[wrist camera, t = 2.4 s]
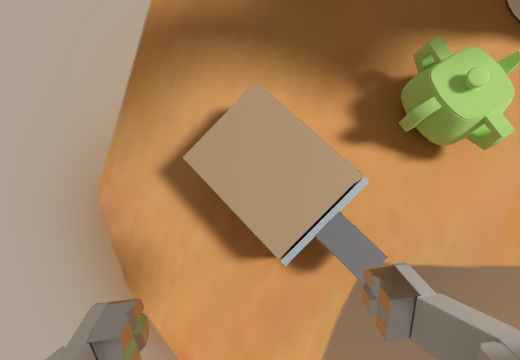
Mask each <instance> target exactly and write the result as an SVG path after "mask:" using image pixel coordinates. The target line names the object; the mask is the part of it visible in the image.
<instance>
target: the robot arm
mask: <svg viewBox="0 0 520 360" xmlns="http://www.w3.org/2000/svg"><path fill="white" fill-rule="evenodd" d="M507 1H508V4H509V7H510V9H511V10H512V12H513V13H514V15H515V16H516V17H517V18H518V19H519V20H520V0H507ZM363 278H364V280H365V281H366V283H365V284H364V286H363V287H362V295H363V301H364V304H365V306H366V309H367V310H368V312H369V314H371V315H372V316H374V317H375V318H376V326H377V328H378V329H379V331H380V333H381V335H382V336H383V338H384V340H385V341H394V340H403V339H410V340H411V341H412V342H414V343H415V344H416V345H418V346H419V347H420V348H421V349H423V350H424V351H425V352H427V353H428V354H429V355H431V356H432V357H433V358H435V359H436V360H520V330H518V329H516V328H514V327H511V326H509V325H507V324H505V323H503V322H501V321H498V320H496V319H494V318H492V317H490V316H488V315H486V314H484V313H481V312H479V311H477V310H475V309H472V308H471V307H469V306H466V305H464V304H462V303H460V302H458V301H455V300H453V299H451V298H449V297H447V296H445V295H443V294H436V293H435V292H434V291H433V290H432V289H431V288H430V287H429V286H428V285H427V284H426V283H425V281H424V280H423V279H422V278H421V277H420V276H419V275H418V274H417V273H416V272H415V271H414V270H413V269H412V268H411V267H410V266H409V265H408V264H407V263H405V262H404V263H398V264H391V265H386V266H379V267H372V268H365V269H364V272H363ZM143 308H144V306H143V303H142V300H141V299H132V300H122V301H113V302H107V303H99V304H95V305H94V306H92V307H91V309H90V310H89V312H88V313H87V315H86V316H85V318H84V320H83V321H82V323H81V324H80V326H79V327H78V329H77V331H76V332H75V334H74V335H73V337H72V339H71V340H70V342H69V343H68V345H67V346H65V347H61V348H60V349H59V350H57V351H56V352H55V353H53V354H52V355H51V356H49V358H47V359H46V360H141V356H140V353H139V352H140V351H141V350H142V349H143V348H144V347H145V346H146V343H147V340H148V336H149V321H148V318H147V316H146V315H144V314H143V313H142V311H143Z"/></svg>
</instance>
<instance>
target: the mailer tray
mask: <svg viewBox="0 0 520 360" xmlns="http://www.w3.org/2000/svg"><path fill="white" fill-rule="evenodd" d="M369 182H370V181H369V180H368V179H367V178H366V177H363V178H362V179H361V180H359V181H358V182H356V183H354V184H353V185H352V186H351V187H350V188H349V189H348V190H347V191H346V192H345V193H344V194H343V195H342V196H341V197H340V198H339V199H338V200H337V201H336V202H335V203H334V204H333V205H332V206H331V207H330V208H329V209H328V210H327V211H326V212H325V213H324V214H323V215H322V216H321V217H320V218H319V219H318V220H317V221H316V222H315V223H314V224H313V225H312V226H311V227H310V228H309V229H308V230H307V231H306V232H305V233H304V234H303V235H302V236H301V237H300V238H299V239H298V240H297V241H296V242H295V243H294V244H293V245H292V246H291V247H290V248H289V249H288V250H287V251H286V254H285V255H284V257H283V258H282V260H281V263H282V264H283V265H284V266H286V265H287V264H288V263H289V262H290V261H291V260H292V259H293V258H294V257H295V256H296V255H297V254H298V253H299V252H300V251H301V250H302V249H303V248H304V247H305V246H306V245H307V244H308V243H309V242H310V241H311V240H312V239H313V238H314V237H315V236H316V237H317V238H318V239H319V240H320V241H321V242H322V243H323V244H324V245H325V246H326V247H327V248H328V249H329V250H330V251H331V252H332V253H333V254H334V255H335V256H336V257H337V258H338V259H339V260H340V261H341V262H342V263H343V264H344V265H345V266H346V267H347V268H348V269H349V270H350V271H351V272H352V273H353V274H354V275H355V276H356V277H357V278H358V279H359V280H360V281H361V282H363V281H364V278H363V272H364V269H365V268H372V267H378V266H379V265H380V264H381V263H382V262H383V261H384V260H385V259H386V258H387V256H386V255H385V254H384V253H383V252H382V251H381V250H380V249H379V248H378V247H377V246H375V245H374V244H373V243H372V242H371V241H370V240H369V239H368V238H367V237H366V236H365V235H364V234H363V233H362V232H361V231H359V230H358V229H357V228H356V227H355V226H354V225H353V224H352V223H351V222H350V221H349V220H348V219H347V218H346V217H345V216H344V215H342V214H341V213H340V211H341V210H342V209H343V208H344V207H345V206H346V205H347V204H348V203H349V202H350V201H351V200H352V199H353V198H354V197H355V196H356V195H357V194H358V193H359V192H360V191H361V190H362V189H363V188H364V187H365V186H366V185H367V184H368V183H369Z"/></svg>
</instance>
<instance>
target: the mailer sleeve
mask: <svg viewBox="0 0 520 360" xmlns="http://www.w3.org/2000/svg"><path fill="white" fill-rule="evenodd" d="M183 159H184V160H185V161H186V162H187V163H188V164H189V165H190V166H191V167H192V168H193V169H194V170H195V171H196V172H197V173H198V174H199V176H200V177H201V178H202V179H203V180H204V181H205V182H206V183H207V184H208V185H209V186H210V187H211V188H212V189H213V190H214V191H215V193H216V194H217V195H218V196H219V197H220V198H221V199H222V200H223V201H224V202H225V203H226V204H227V205H228V206H229V207H230V209H231V210H232V211H233V212H234V213H235V214H236V215H237V216H238V217H239V218H240V219H241V220H242V221H243V222H244V223H245V224H246V226H247V227H248V228H249V229H250V230H251V231H252V232H253V233H254V234H255V235H256V236H257V237H258V238H259V239H260V240H261V241H262V243H263V244H264V245H265V246H266V247H267V248H268V249H269V250H270V251H271V252H272V253H273V254H274V255H275V256H276V257H277V258H278V259H279V258H280V257H281V256H282V255H283V254H284V253H285V252H286V251H287V250H288V249H289V248H290V247H291V246H292V245H293V244H294V243H295V242H296V241H297V240H298V239H299V238H300V237H301V236H302V235H303V234H304V233H305V232H306V231H307V230H308V229H309V228H310V227H311V226H312V225H313V224H314V223H315V222H316V221H317V220H318V219H319V218H320V217H321V216H322V215H323V214H324V213H325V212H326V211H327V210H328V209H329V208H330V207H331V206H332V205H333V204H334V203H335V202H336V201H337V200H338V199H339V198H340V197H341V196H342V195H343V194H344V193H345V192H346V191H347V190H348V189H349V188H350V187H351V186H352V185H353V184H354V183H355V182H356V181H357V180H358V179H359V178H360V177H361V176H362V175H363V174H362V173H361V172H359V171H358V170H357V169H356V168H355V167H354V166H353V165H351V164H350V163H349V162H348V161H347V160H346V159H345V158H343V157H342V156H341V155H340V154H339V153H338V152H337V151H335V150H334V149H333V148H332V147H331V146H330V145H329V144H327V143H326V142H325V141H324V140H323V139H322V138H321V137H319V136H318V135H317V134H316V133H315V132H314V131H313V130H311V129H310V128H309V127H308V126H307V125H306V124H305V123H303V122H302V121H301V120H300V119H299V118H298V117H297V116H295V115H294V114H293V113H292V112H291V111H290V110H289V109H287V108H286V107H285V106H284V105H283V104H282V103H281V102H279V101H278V100H277V99H276V98H275V97H274V96H273V95H271V94H270V93H269V92H268V91H267V90H266V89H265V88H264V87H262V86H261V85H260V84H259V83H258V82H257V81H256V82H255V83H254V84H253V85H252V86H251V87H250V88H249V89H248V90H247V91H246V92H245V93H244V94H243V95H242V96H241V97H240V98H239V99H238V101H237V102H236V103H235V104H234V105H233V106H232V107H231V108H230V109H229V110H228V111H227V112H226V113H225V114H224V115H223V116H222V117H221V118H220V119H219V120H218V121H217V122H216V123H215V124H214V125H213V126H212V127H211V129H210V130H209V131H208V132H207V133H206V134H205V135H204V136H203V137H202V138H201V139H200V140H199V141H198V142H197V143H196V144H195V145H194V146H193V147H192V148H191V149H190V150H189V151H188V152H187V153H186V154H185V155H184V157H183Z"/></svg>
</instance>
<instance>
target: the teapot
mask: <svg viewBox="0 0 520 360" xmlns="http://www.w3.org/2000/svg"><path fill="white" fill-rule="evenodd" d="M414 59H415V63H416V67H417V71H418V75H417V76H415V77H414V78H413V79H411V80H410V81H409V82H408V83H407V84H406V85H405V87H404V88H403V90H402V92H401V101H402V104H403V107H404V110H405V112H406V114H407V115H406V116H405V117H404V118H403V119H402V120H401V121H400V122H399V125H400V126H401V127H402V129H403V130H404V131H405V132H407V131H409V130H410V129H412V128H414V127H415V128H416V129H417V130H418V131H419V132H420V133H421V134H422V135H423V136H424V137H425V138H426V139H428V140H429V141H430V142H432V143H434V144H437V145H441V146H445V145H450V144H453V143H455V142H458V141H460V140H462V139H465V138H467V139H468V140H470V141H471V142H473V143H474V144H476V145H477V146H479V147H480V148H482V149H483V150H486V149H488V148H490V147H492V146H494V145H496V144H498V143H499V142H500V141H502V140H503V139H504V138H506V137H507V136H508V135H510V134H511V133H512V132H514V131H515V129H514V128H513V127H512V125H511V124H510V123H509V122H508V120H507V119H506V118H505V117H504V116H503V114H502V113H503V112H504V111H505V109H506V108H507V107H508V105H509V104H510V102H511V101H512V99H513V97H514V92H515V91H514V87H513V85H512V83H511V81H510V79H509V78H508V76H507V74H509V73H510V72H511V71H512V70H513V69H514V68H516V67H517V66H518V65H519V64H520V50H519V51H518V52H516V53H514V54H512V55H510V56H508V57H506V58H504V59H502V60H500V61H498V62H496V61H495V60H494V59H493V58H492V57H490V56H489V55H488V54H487V53H486V52H484V51H483V50H481V49H479V48H477V47H469V48H466V49H463V50H461V51H459V52H457V53H454V54H453V53H452V52H451V50H450V49H449V48H448V46H447V45H446V43H445V42H444V40H443V39H442V38H441V36H438V37H436V38H434V39H433V40H431V41H429V42H427V43H426V44H425V45H424V46H423V47H422V48H421V49H420V50H419V51H418V52H417V53H415V54H414ZM433 59H434V60H435V62H436V63H434V60H433ZM485 126H487V127H488V128H489V129H490V130H491V131H492V132H491V131H489V130H487V129H486V128H484V127H485Z"/></svg>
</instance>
